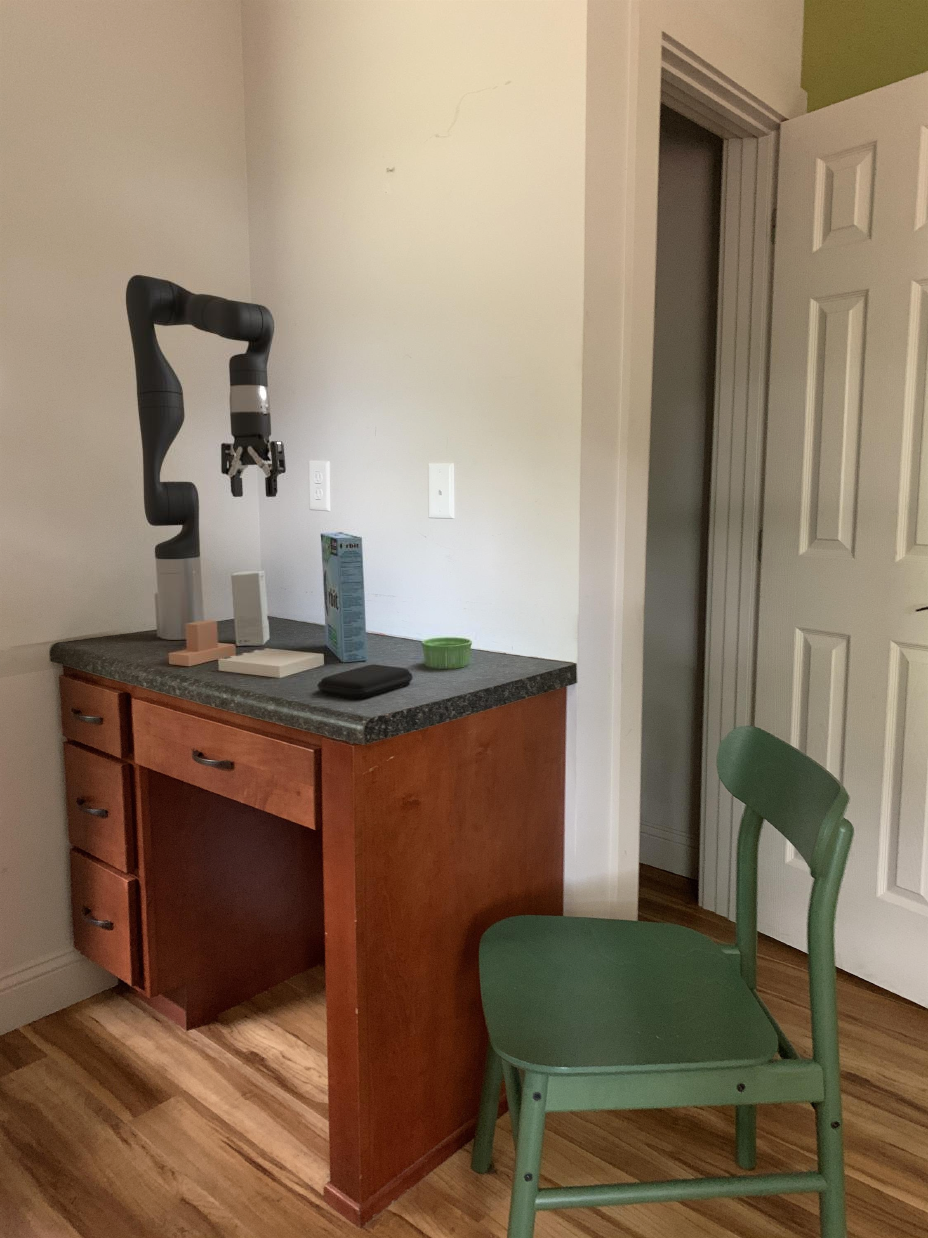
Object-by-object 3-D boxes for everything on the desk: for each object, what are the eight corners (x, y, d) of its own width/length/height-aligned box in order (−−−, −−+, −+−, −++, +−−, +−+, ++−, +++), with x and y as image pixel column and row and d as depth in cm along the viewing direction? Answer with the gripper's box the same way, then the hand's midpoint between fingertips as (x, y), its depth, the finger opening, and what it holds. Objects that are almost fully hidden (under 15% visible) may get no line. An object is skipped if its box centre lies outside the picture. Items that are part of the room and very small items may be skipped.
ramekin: (480, 662, 165) (480, 639, 164) (456, 672, 157) (456, 647, 156) (438, 658, 169) (438, 635, 168) (412, 667, 161) (412, 643, 160)
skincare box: (264, 646, 184) (260, 573, 182) (234, 646, 183) (230, 573, 181) (269, 639, 192) (266, 569, 190) (241, 639, 192) (237, 569, 189)
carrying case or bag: (367, 678, 154) (307, 695, 142) (367, 660, 154) (306, 676, 142) (417, 685, 148) (359, 704, 136) (417, 667, 148) (359, 684, 136)
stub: (169, 663, 166) (166, 626, 165) (216, 652, 177) (214, 617, 176) (189, 666, 164) (186, 628, 163) (235, 654, 174) (233, 618, 173)
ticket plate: (218, 670, 160) (218, 658, 160) (264, 658, 171) (264, 647, 170) (279, 677, 154) (279, 665, 153) (323, 664, 164) (323, 653, 164)
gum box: (367, 661, 167) (363, 536, 163) (340, 663, 165) (335, 537, 162) (348, 643, 185) (345, 531, 182) (324, 645, 184) (319, 532, 180)
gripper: (208, 411, 173) (213, 497, 176) (265, 408, 166) (269, 497, 169) (236, 414, 180) (240, 496, 182) (292, 410, 173) (295, 496, 175)
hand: (254, 496), depth 176 cm, fingers open, 8 cm apart
